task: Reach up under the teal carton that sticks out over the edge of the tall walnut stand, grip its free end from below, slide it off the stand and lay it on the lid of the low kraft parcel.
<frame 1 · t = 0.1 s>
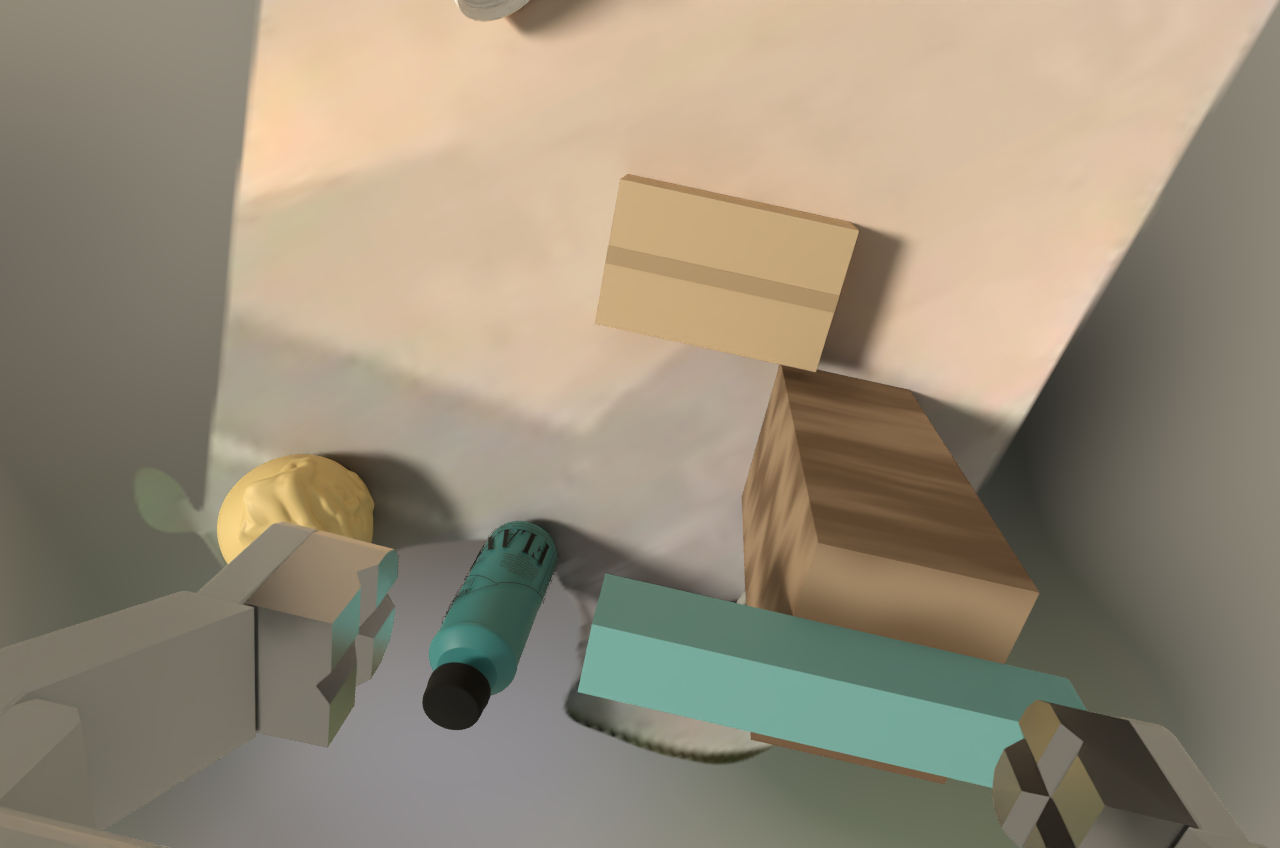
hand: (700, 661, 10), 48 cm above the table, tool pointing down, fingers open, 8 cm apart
beverage bottle: (527, 541, 67), on the table
walnut stand: (822, 445, 60), on the table
teal carton: (823, 657, 36), point 26 cm above the table, touching walnut stand
kraft parcel: (721, 267, 55), on the table
sculpture: (329, 496, 67), on the table
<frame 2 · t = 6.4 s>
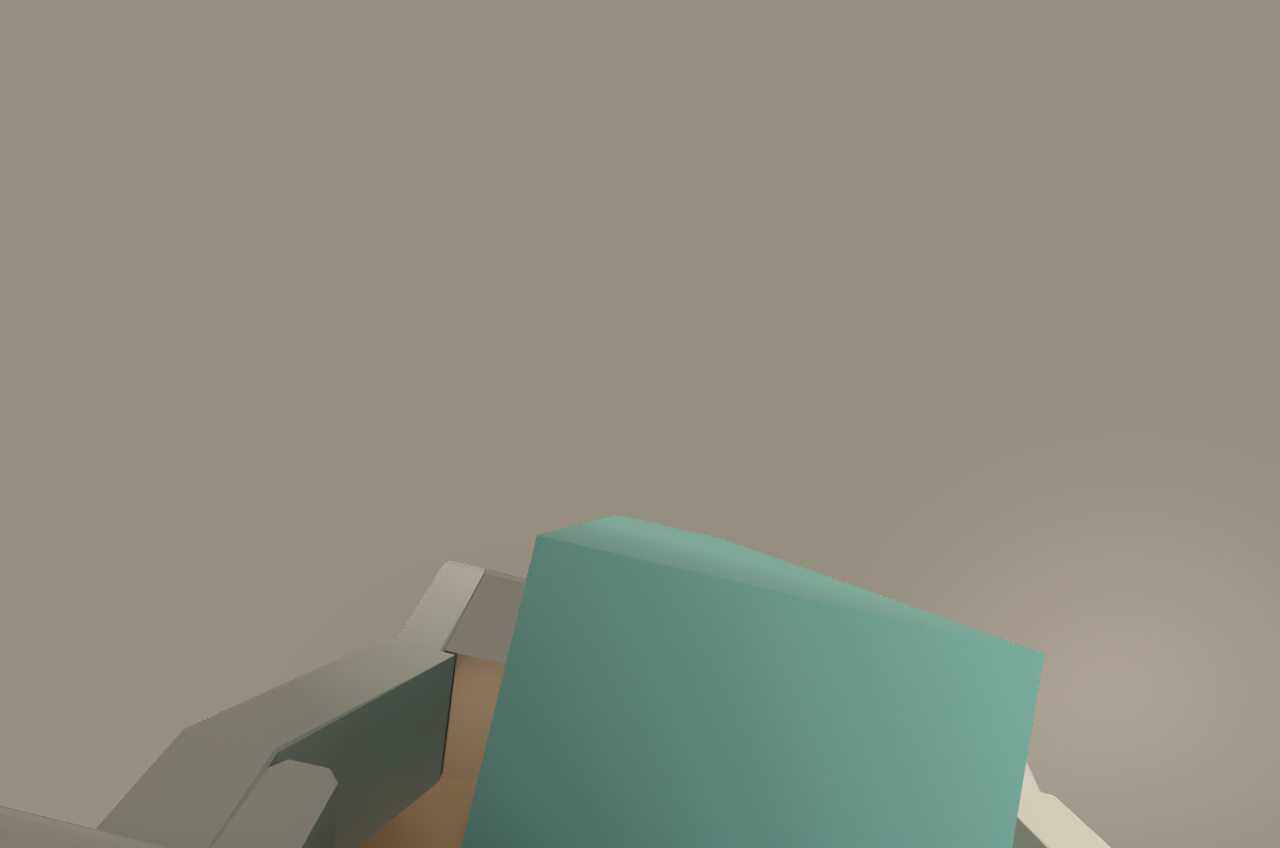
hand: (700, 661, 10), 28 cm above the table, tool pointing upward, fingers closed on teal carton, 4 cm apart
teal carton: (651, 714, 16), point 26 cm above the table, touching gripper, walnut stand
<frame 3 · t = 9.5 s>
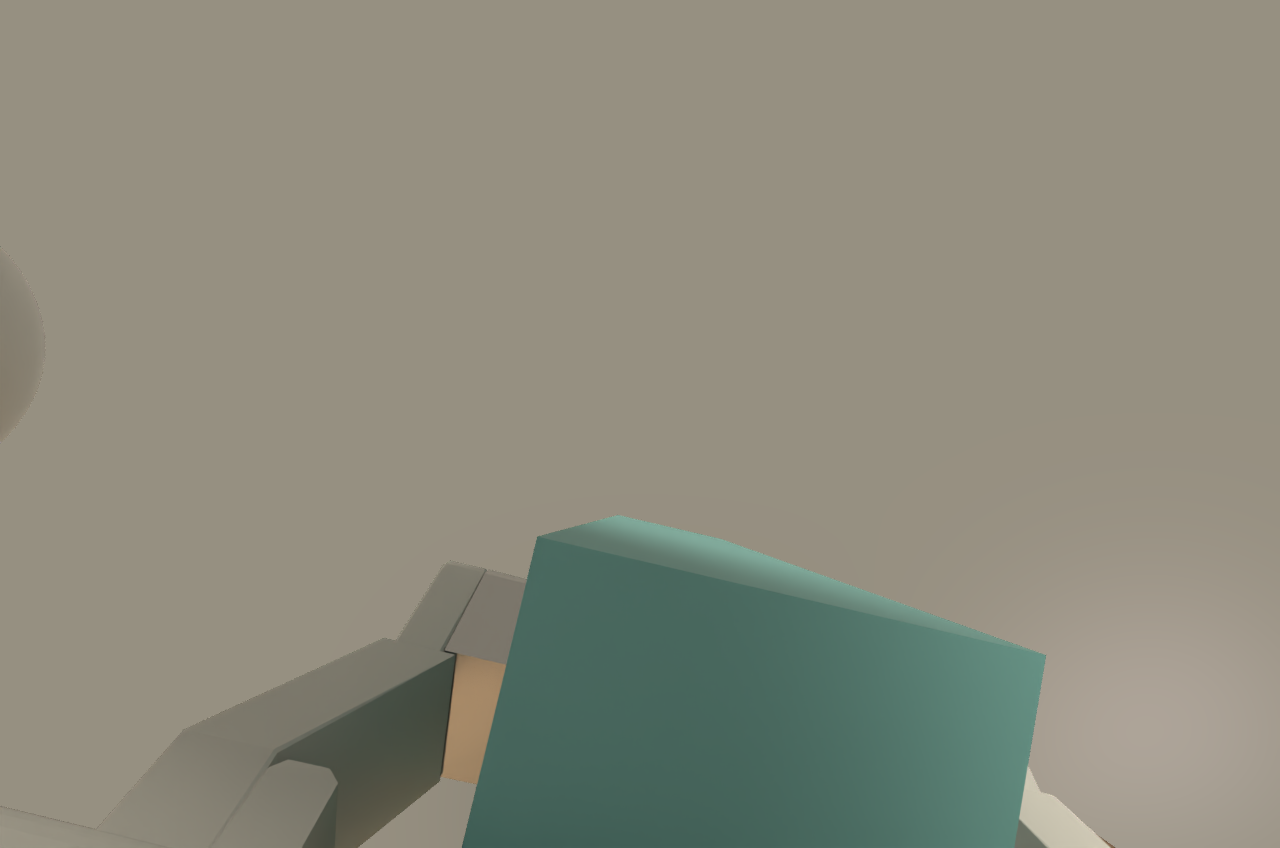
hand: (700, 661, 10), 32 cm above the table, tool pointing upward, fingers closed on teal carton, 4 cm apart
teal carton: (650, 715, 16), point 30 cm above the table, touching gripper
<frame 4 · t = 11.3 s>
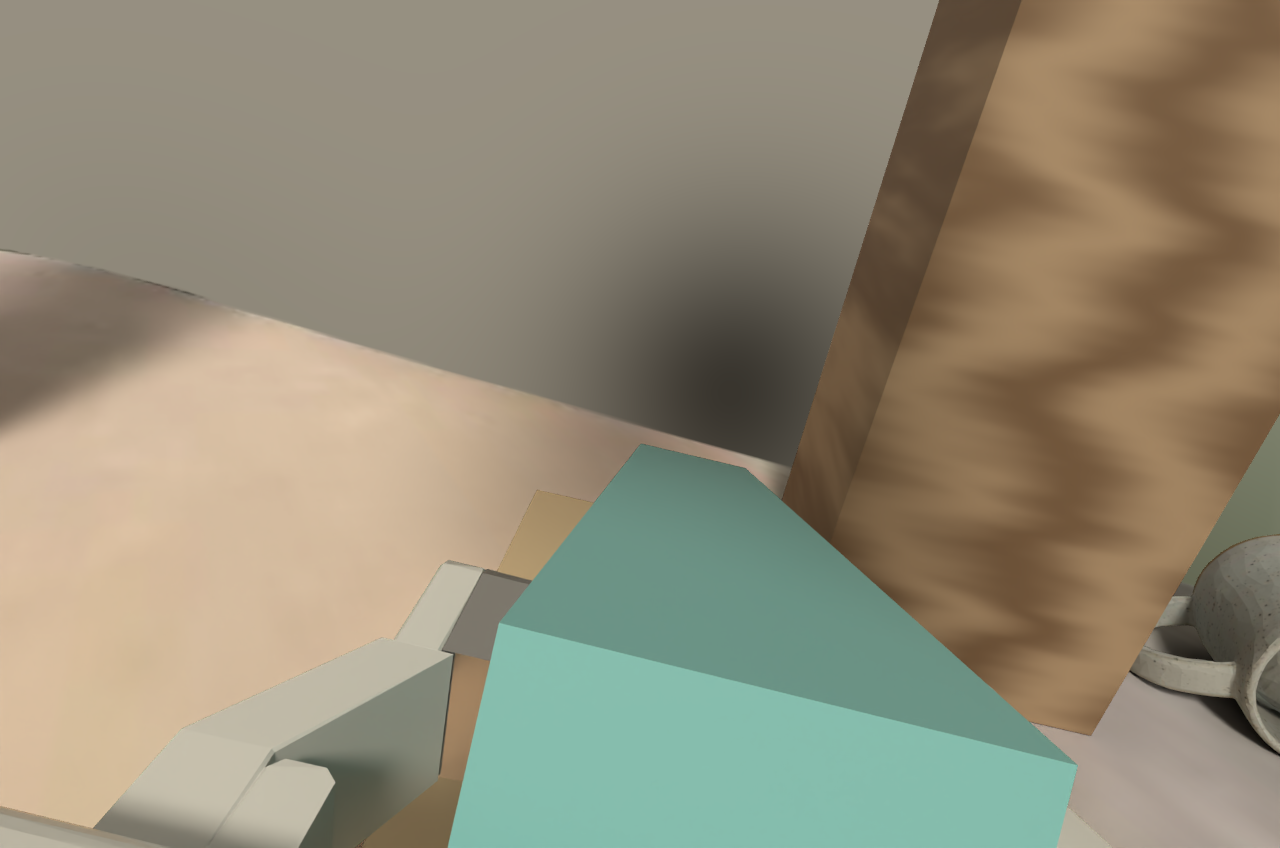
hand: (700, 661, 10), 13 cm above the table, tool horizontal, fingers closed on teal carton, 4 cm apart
ceramic mug: (1237, 704, 34), on the table
walnut stand: (909, 620, 34), on the table
teal carton: (665, 666, 16), point 8 cm above the table, tilted 21°, touching gripper
kraft parcel: (615, 750, 24), on the table
when the fingers open (7 cm above the table, at t = 13.1 s): teal carton stays where it is, resting on kraft parcel.
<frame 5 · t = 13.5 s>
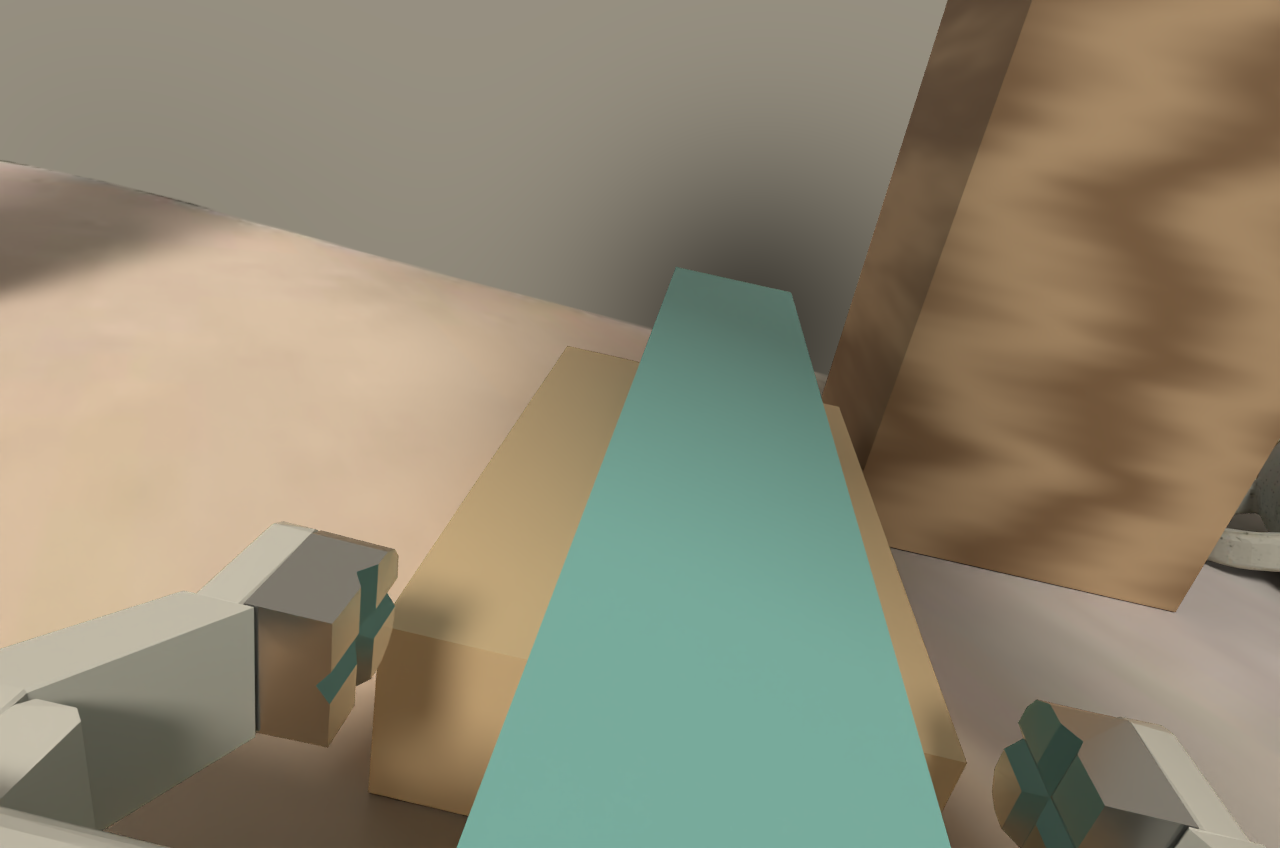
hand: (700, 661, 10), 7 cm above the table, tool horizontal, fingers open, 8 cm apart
walnut stand: (966, 504, 31), on the table
teal carton: (687, 565, 16), point 4 cm above the table, touching kraft parcel
kraft parcel: (661, 598, 22), on the table
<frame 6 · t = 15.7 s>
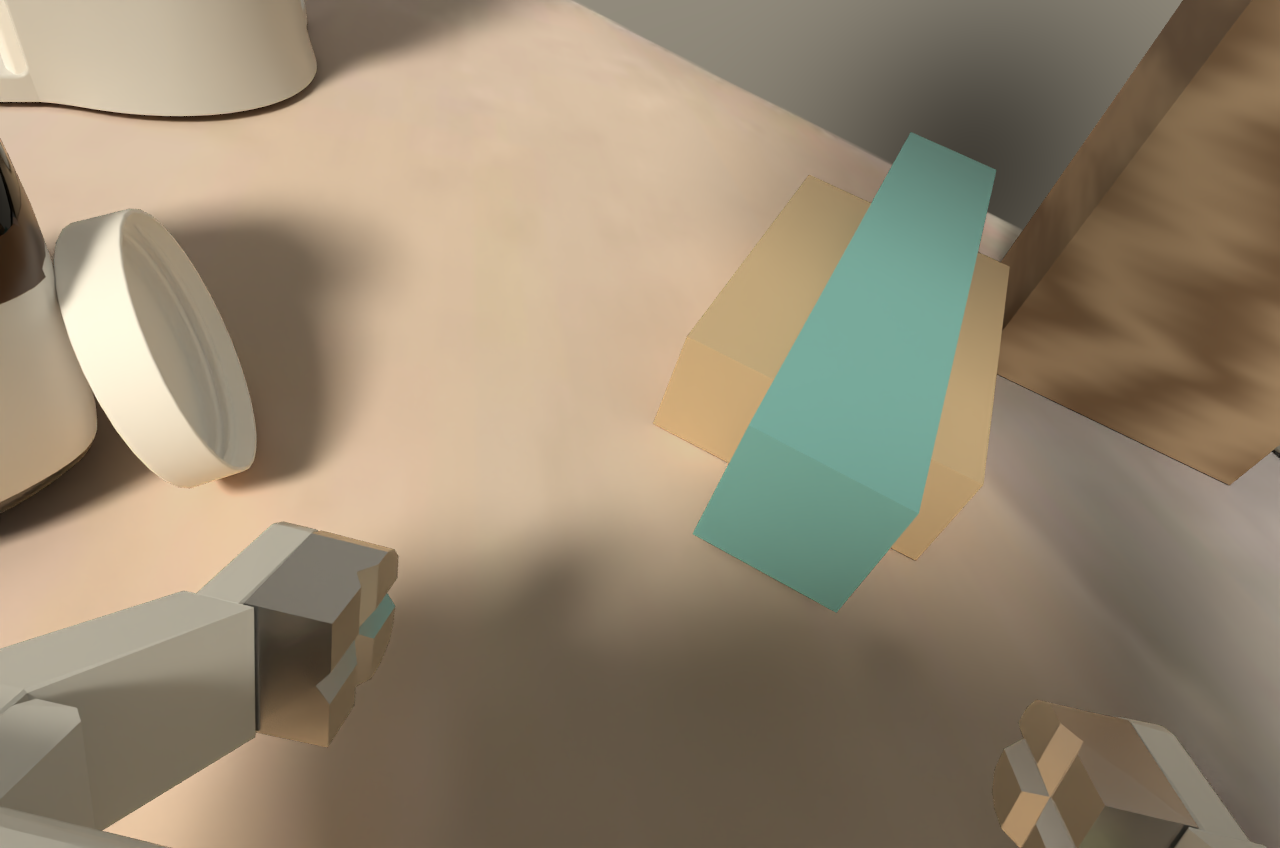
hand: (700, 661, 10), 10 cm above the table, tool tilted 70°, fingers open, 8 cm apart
spread jar: (8, 440, 20), on the table
walnut stand: (1096, 368, 38), on the table
teal carton: (857, 348, 26), point 4 cm above the table, touching kraft parcel
kraft parcel: (832, 371, 32), on the table
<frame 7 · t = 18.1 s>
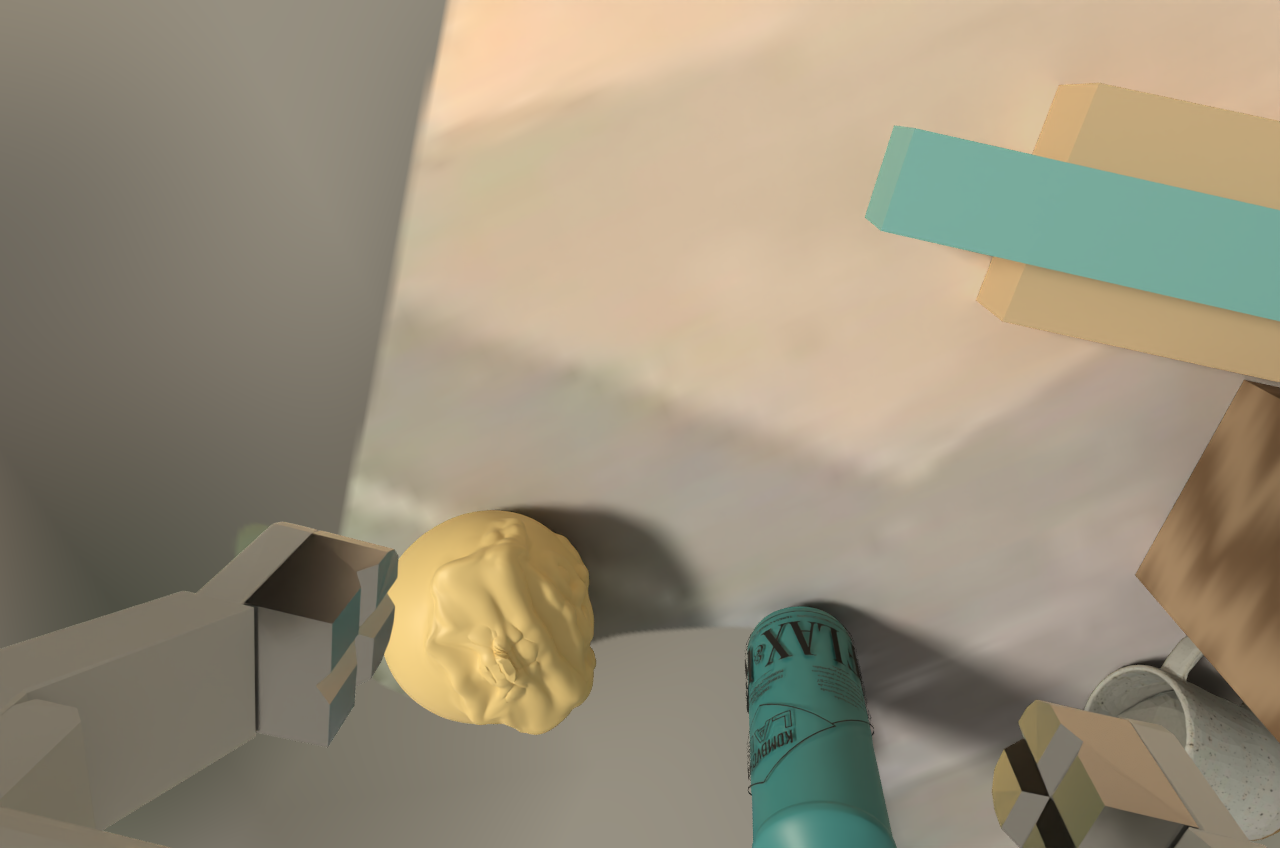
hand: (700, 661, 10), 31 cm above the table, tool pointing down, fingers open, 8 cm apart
ceramic mug: (1163, 687, 46), on the table
beverage bottle: (795, 630, 47), on the table
walnut stand: (1279, 504, 40), on the table
teal carton: (1134, 230, 32), point 4 cm above the table, touching kraft parcel
kraft parcel: (1183, 234, 36), on the table
sculpture: (513, 564, 47), on the table
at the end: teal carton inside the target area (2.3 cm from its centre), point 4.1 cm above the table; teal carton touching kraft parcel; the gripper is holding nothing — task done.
